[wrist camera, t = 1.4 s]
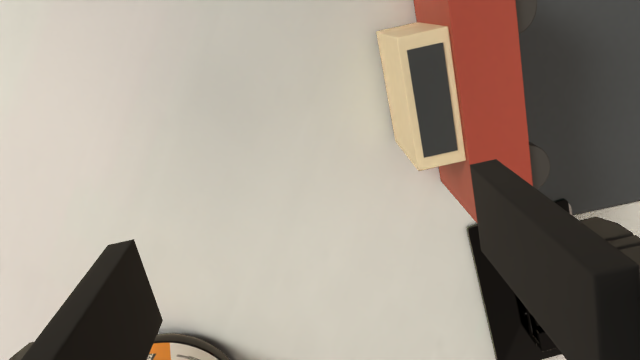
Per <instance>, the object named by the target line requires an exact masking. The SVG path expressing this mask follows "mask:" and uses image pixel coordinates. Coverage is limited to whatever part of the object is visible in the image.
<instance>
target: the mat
mask: <svg viewBox="0 0 640 360" xmlns="http://www.w3.org/2000/svg"><path fill="white" fill-rule="evenodd" d="M519 43H520V53H521V64H522V75H523V85H524V96H525V107H526V117H527V128H528V139H529V142H531V143H533V144H535V145H537V146H538V147H540V148H542V149H543V150H544V151H545V152H546V154H547V155H548V157H549V160H550V173H549V176H548V178H547V180H546V181H545V183H544V184H543V185H542V186H541V187H540V188H539V189H537V190H539V191H540V192H541V193H543V194H544V195H545V196H547V197H548V198H549V199H551V200H552V201H555V200H559V199H566V200H567V201H568V203H569V204H570V205H571V209H572V215H576V214H581V213H585V212H590V211H594V210H599V209H604V208H608V207H613V206H617V205H622V204H627V203H631V202H636V201H640V0H537V11H536V14H535V17H534V19H533V21H532V23H531V24H530V26H529V27H528V28H527V29H526V30H525V31H524V32H522V33H521V34H519Z"/></svg>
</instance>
